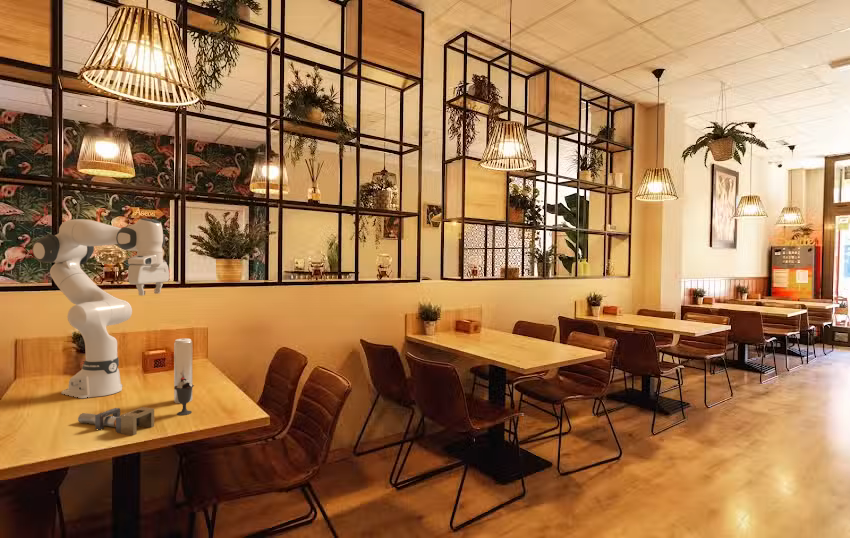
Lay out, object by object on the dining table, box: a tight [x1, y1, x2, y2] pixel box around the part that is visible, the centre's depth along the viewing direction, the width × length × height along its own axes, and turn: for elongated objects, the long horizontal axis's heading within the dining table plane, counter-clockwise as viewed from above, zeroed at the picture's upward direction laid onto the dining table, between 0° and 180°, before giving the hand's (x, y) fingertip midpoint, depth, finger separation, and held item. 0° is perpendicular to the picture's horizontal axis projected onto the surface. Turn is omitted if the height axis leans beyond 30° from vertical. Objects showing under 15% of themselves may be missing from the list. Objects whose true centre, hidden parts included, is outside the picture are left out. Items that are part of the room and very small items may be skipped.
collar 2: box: [115, 413, 140, 434], centre depth 156 cm, size 2×8×5 cm, turn 166°
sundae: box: [173, 373, 195, 416], centre depth 172 cm, size 7×7×15 cm
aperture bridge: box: [120, 406, 155, 436], centre depth 155 cm, size 5×8×6 cm, turn 166°
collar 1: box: [94, 407, 121, 431], centre depth 158 cm, size 2×8×5 cm, turn 166°
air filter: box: [173, 338, 193, 404], centre depth 186 cm, size 6×6×25 cm
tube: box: [77, 412, 116, 428], centre depth 159 cm, size 18×3×3 cm, turn 76°
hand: (149, 294), depth 184 cm, fingers open, 8 cm apart
